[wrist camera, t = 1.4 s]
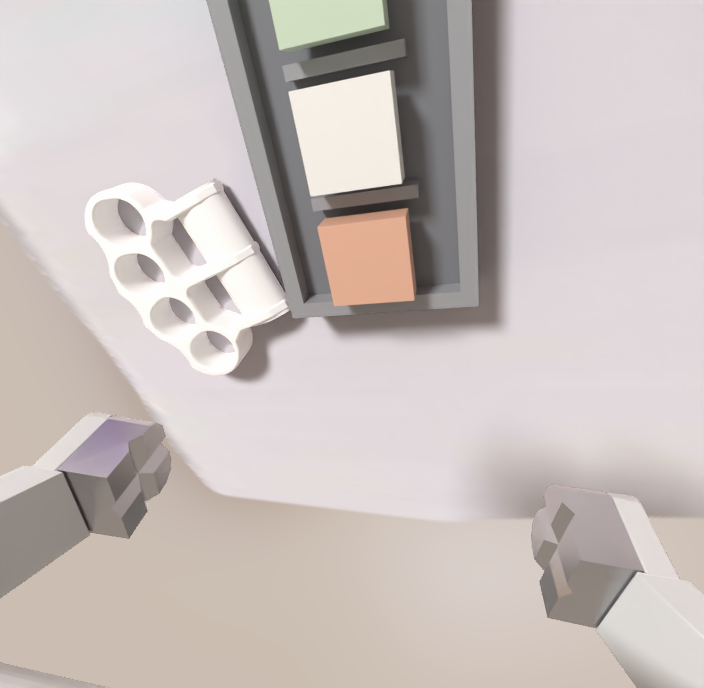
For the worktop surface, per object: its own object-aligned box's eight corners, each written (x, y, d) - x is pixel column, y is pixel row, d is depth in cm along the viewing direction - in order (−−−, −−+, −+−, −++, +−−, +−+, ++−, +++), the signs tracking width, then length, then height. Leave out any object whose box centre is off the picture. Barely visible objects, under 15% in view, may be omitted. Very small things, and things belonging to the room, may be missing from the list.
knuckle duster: (315, 327, 39) (199, 371, 45) (199, 133, 32) (78, 214, 38) (305, 347, 36) (182, 390, 42) (175, 138, 29) (48, 225, 35)
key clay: (408, 208, 27) (405, 216, 26) (416, 288, 30) (414, 300, 28) (324, 218, 29) (317, 227, 27) (340, 294, 31) (334, 306, 30)
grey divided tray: (456, -426, 18) (458, -559, 14) (475, 282, 34) (479, 308, 30) (167, -285, 21) (108, -362, 18) (309, 296, 37) (293, 320, 33)
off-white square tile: (393, 70, 23) (389, 70, 22) (404, 176, 26) (401, 183, 25) (299, 90, 25) (288, 91, 23) (318, 189, 28) (310, 196, 26)
